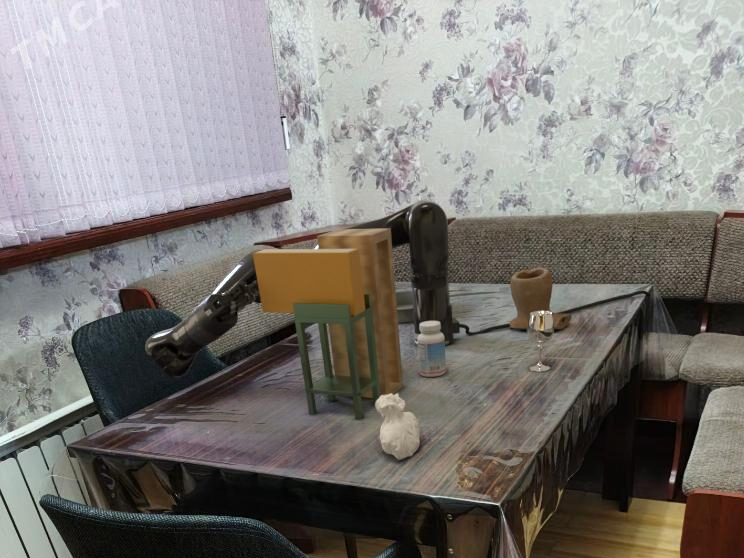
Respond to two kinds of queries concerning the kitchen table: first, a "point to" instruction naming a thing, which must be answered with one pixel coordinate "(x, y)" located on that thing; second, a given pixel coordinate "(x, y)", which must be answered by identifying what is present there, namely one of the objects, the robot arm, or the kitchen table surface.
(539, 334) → the wineglass
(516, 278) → the brown clay vessel
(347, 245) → the tall stand
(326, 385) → the book rack
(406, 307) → the cake pan
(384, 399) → the white tied sack
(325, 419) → the kitchen table surface
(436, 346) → the pill bottle
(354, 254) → the book
